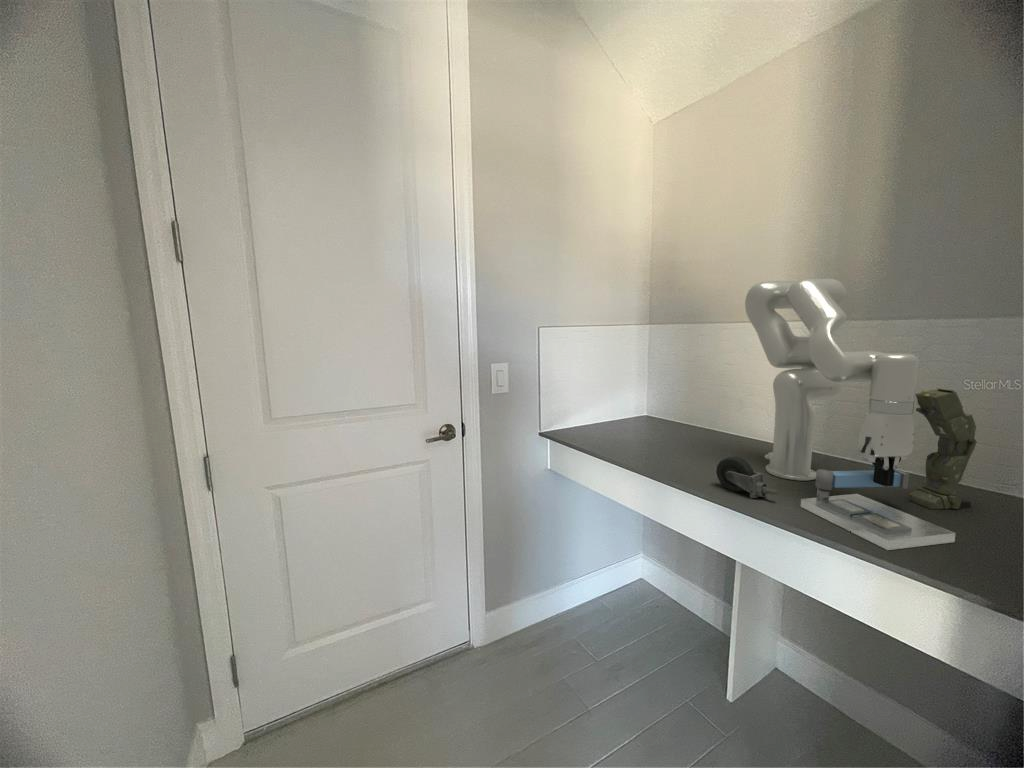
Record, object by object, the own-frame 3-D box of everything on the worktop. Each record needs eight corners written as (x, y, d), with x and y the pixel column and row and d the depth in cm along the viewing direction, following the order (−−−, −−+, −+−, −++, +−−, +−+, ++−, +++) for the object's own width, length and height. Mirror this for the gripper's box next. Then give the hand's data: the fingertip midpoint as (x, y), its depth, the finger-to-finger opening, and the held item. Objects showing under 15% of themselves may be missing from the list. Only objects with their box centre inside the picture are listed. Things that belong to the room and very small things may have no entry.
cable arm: (823, 491, 95) (825, 474, 95) (810, 484, 100) (811, 468, 99) (907, 489, 95) (909, 473, 95) (890, 482, 100) (891, 466, 99)
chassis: (799, 506, 99) (801, 488, 98) (855, 500, 101) (857, 483, 100) (887, 550, 79) (890, 528, 78) (954, 542, 81) (957, 520, 81)
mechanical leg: (958, 493, 102) (945, 380, 98) (992, 505, 95) (980, 384, 91) (906, 507, 102) (890, 395, 98) (936, 520, 95) (921, 400, 91)
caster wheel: (713, 490, 112) (772, 504, 99) (712, 456, 111) (770, 466, 99) (725, 486, 115) (782, 498, 102) (723, 452, 114) (781, 461, 102)
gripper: (900, 403, 97) (893, 476, 99) (846, 406, 95) (840, 480, 97) (937, 408, 89) (928, 487, 91) (879, 412, 87) (871, 492, 89)
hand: (883, 484), depth 94 cm, fingers closed
